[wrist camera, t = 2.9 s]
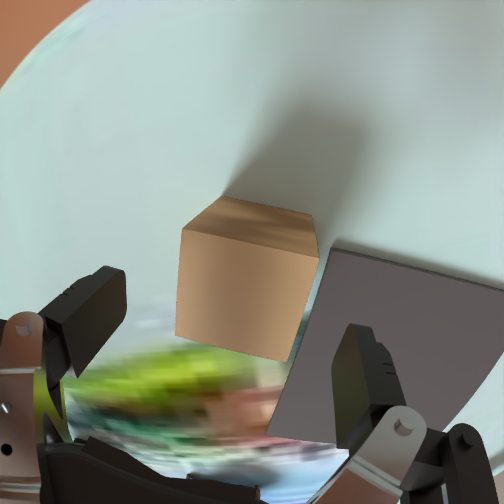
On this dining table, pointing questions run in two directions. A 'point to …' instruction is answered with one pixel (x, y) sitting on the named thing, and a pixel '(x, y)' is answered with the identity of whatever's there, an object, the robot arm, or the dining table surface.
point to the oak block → (245, 277)
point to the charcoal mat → (393, 341)
